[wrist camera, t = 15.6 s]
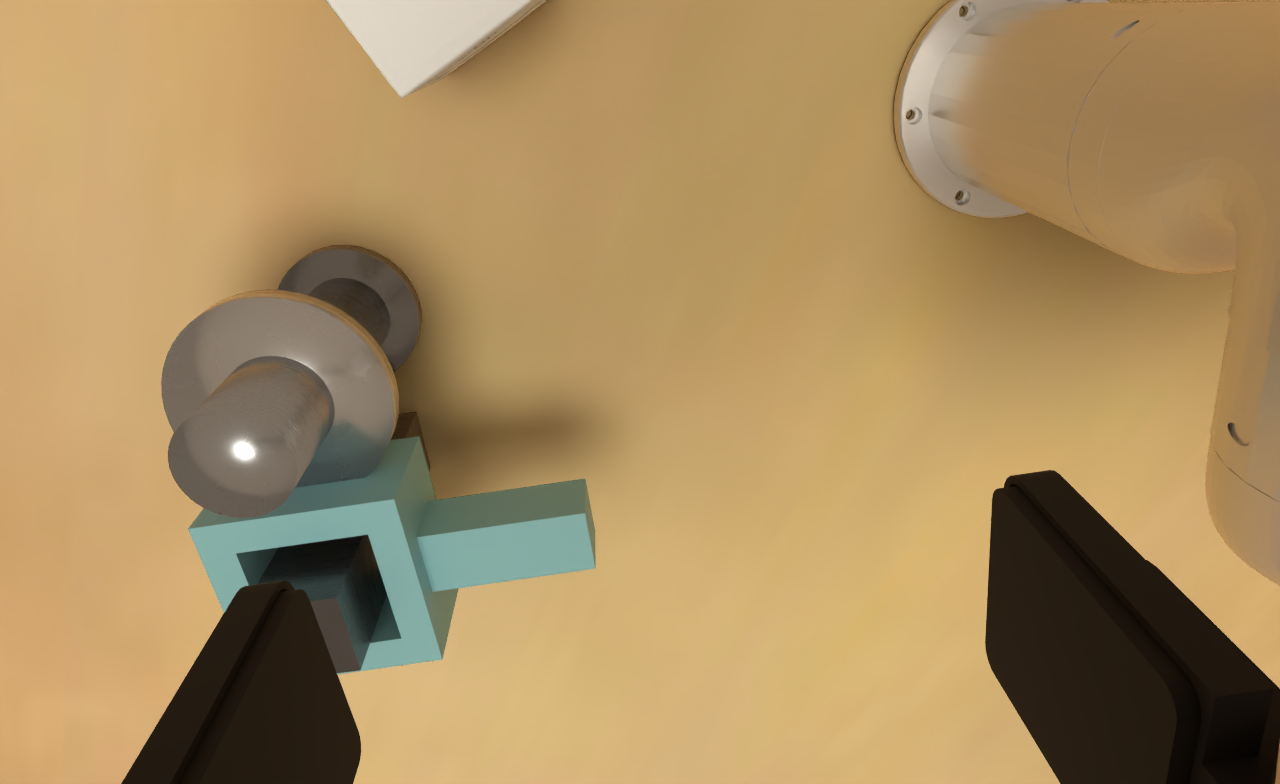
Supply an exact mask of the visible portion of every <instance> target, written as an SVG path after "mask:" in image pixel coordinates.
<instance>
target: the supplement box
mask: <svg viewBox="0 0 1280 784" xmlns="http://www.w3.org/2000/svg"><path fill="white" fill-rule="evenodd" d="M326 1H327V3H328V4H329V5H330V7H331V8H332V9H333V10H334V12H335V13H336V14H337V15H338V17H339V18H340V19H341V21H342V22H343V23H344V24H345V26H346V27H347V28H348V30H349V31H350V32H351V33H352V35H353V36H354V37H355V39H356V40H357V41H358V42H359V44H360V45H361V46H362V48H363V49H364V50H365V52H366V53H367V54H368V56H369V57H370V58H371V60H372V61H373V62H374V64H375V65H376V66H377V68H378V69H379V70H380V72H381V73H382V74H383V76H384V77H385V78H386V79H387V81H388V82H389V83H390V85H391V86H392V87H393V89H394V90H395V91H396V92H397V94H398V95H399V96H400V97H402V98H404V97H405V96H407V95H409V94H411V93H413V92H415V91H417V90H419V89H421V88H423V87H425V86H428V85H430V84H432V83H434V82H436V81H438V80H440V79H442V78H444V77H446V76H448V75H449V74H450V73H452V72H453V71H454V70H456V69H457V68H458V67H460V66H461V65H462V64H464V63H465V62H466V61H468V60H469V59H471V58H472V57H473V56H475V55H476V54H477V53H479V52H480V51H481V50H483V49H484V48H485V47H487V46H488V45H489V44H491V43H492V42H493V41H495V40H496V39H497V38H499V37H500V36H501V35H503V34H504V33H505V32H507V31H508V30H509V29H511V28H512V27H513V26H514V25H516V24H517V23H518V22H520V21H521V20H522V19H523V18H525V17H526V16H527V15H529V14H530V13H531V12H533V11H534V10H535V9H536V8H538V7H539V6H540V5H541V4H543V3H544V2H546V1H547V0H326Z"/></svg>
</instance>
